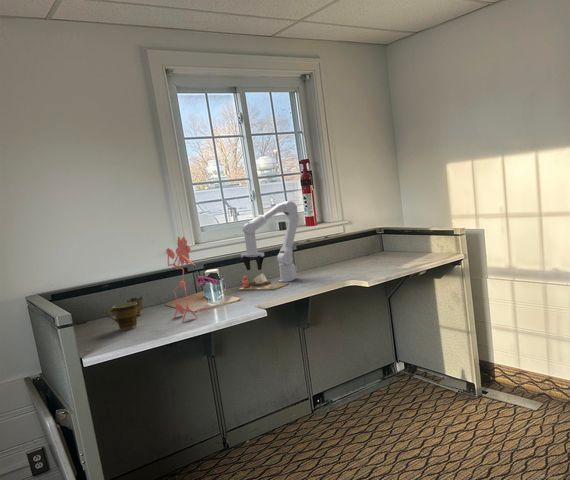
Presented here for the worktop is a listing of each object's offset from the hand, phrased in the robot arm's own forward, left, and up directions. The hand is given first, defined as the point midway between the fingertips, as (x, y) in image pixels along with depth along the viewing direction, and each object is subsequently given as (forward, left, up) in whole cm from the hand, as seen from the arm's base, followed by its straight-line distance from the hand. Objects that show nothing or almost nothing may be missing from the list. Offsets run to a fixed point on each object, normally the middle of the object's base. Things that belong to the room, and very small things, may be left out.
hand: (254, 270), depth 276 cm
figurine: (+60, +11, -9) cm, 62 cm away
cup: (+63, -22, -9) cm, 68 cm away
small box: (+21, -11, -9) cm, 26 cm away
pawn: (+7, -1, -8) cm, 11 cm away
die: (0, +1, -6) cm, 7 cm away
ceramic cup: (+83, -6, -9) cm, 84 cm away
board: (+3, +7, -9) cm, 12 cm away
